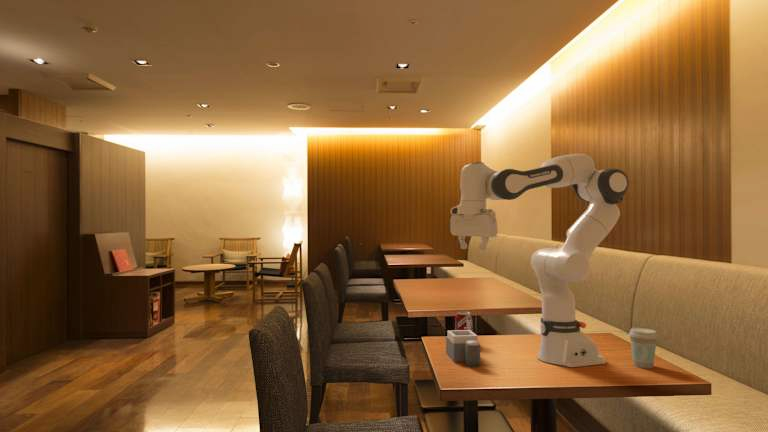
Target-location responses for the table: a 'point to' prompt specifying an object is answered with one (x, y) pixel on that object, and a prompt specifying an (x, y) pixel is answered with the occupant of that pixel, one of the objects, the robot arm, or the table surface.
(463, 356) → the camera body
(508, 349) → the table surface
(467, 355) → the lens
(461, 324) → the soda can
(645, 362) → the coffee cup
